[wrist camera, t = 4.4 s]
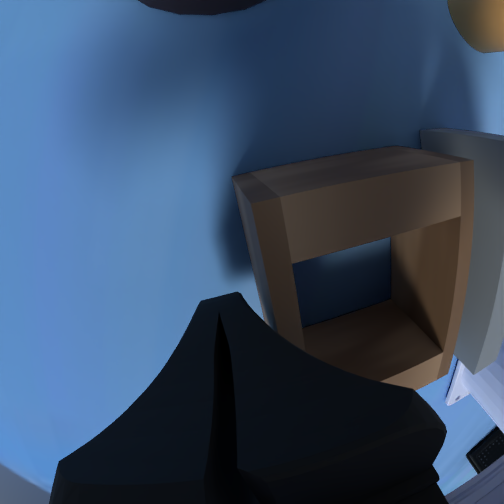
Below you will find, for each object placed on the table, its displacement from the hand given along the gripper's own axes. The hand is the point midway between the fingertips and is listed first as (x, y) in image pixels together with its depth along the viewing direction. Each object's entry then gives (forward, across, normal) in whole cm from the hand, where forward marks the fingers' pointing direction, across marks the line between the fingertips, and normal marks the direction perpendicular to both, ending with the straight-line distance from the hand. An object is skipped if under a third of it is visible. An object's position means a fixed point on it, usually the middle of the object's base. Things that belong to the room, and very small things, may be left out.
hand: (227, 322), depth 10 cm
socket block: (+2, -4, 0) cm, 5 cm away
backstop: (+2, -10, 0) cm, 10 cm away
